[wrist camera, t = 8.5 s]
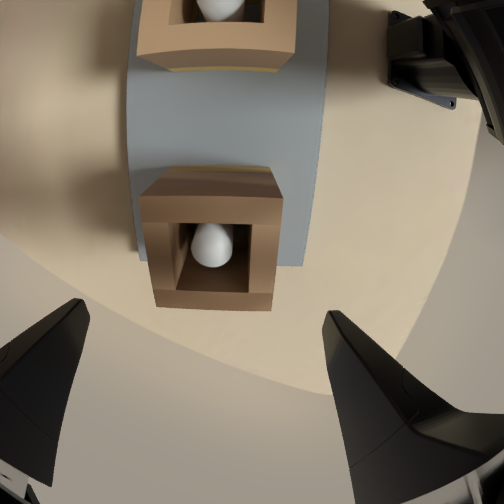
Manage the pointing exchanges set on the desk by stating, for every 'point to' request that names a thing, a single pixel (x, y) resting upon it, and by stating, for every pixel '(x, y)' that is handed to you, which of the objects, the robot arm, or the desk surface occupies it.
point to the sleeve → (212, 211)
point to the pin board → (229, 104)
